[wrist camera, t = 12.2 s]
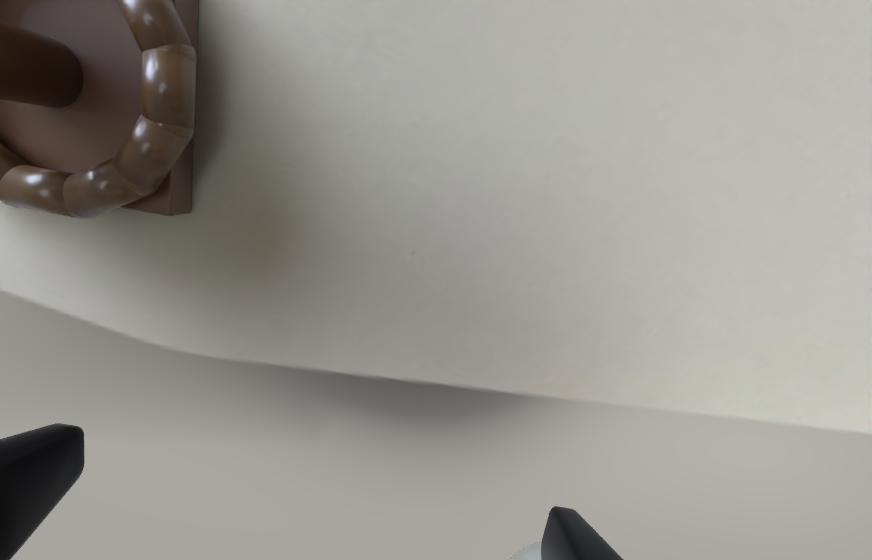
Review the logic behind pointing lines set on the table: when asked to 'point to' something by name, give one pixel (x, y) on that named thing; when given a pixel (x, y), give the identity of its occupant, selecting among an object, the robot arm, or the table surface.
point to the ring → (146, 143)
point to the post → (80, 89)
